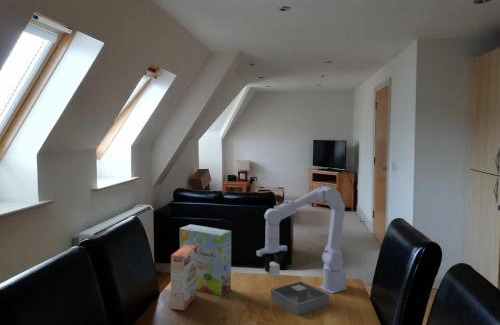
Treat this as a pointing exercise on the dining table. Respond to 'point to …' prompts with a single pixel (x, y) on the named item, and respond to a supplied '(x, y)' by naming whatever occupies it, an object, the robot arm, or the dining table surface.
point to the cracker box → (183, 277)
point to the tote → (313, 302)
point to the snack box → (210, 257)
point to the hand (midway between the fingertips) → (271, 270)
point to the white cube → (273, 269)
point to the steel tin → (298, 294)
